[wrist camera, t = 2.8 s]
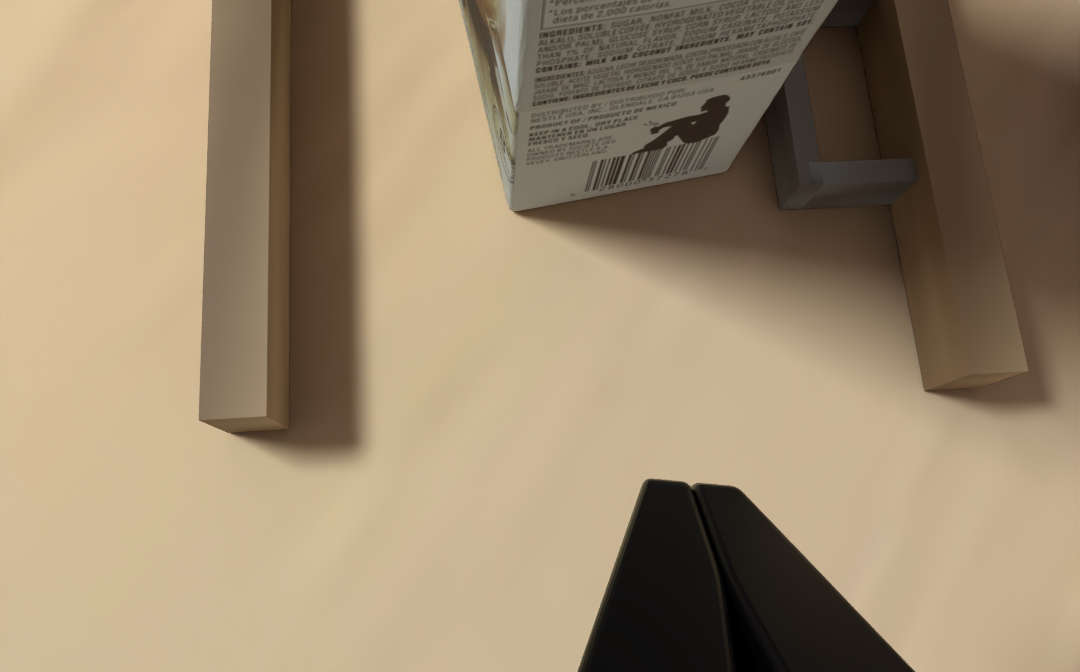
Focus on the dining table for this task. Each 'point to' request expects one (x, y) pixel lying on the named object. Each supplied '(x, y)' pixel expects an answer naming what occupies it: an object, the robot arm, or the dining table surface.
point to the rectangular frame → (801, 179)
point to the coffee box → (627, 87)
